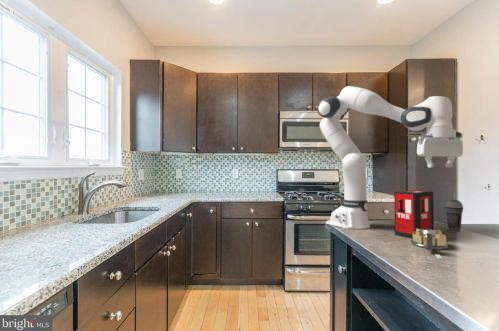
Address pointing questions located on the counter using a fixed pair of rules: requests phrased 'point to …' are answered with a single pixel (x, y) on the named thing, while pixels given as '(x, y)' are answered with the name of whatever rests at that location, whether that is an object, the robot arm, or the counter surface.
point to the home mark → (438, 256)
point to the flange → (433, 232)
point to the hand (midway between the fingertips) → (440, 167)
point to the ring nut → (429, 239)
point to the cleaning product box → (413, 212)
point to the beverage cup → (454, 214)
